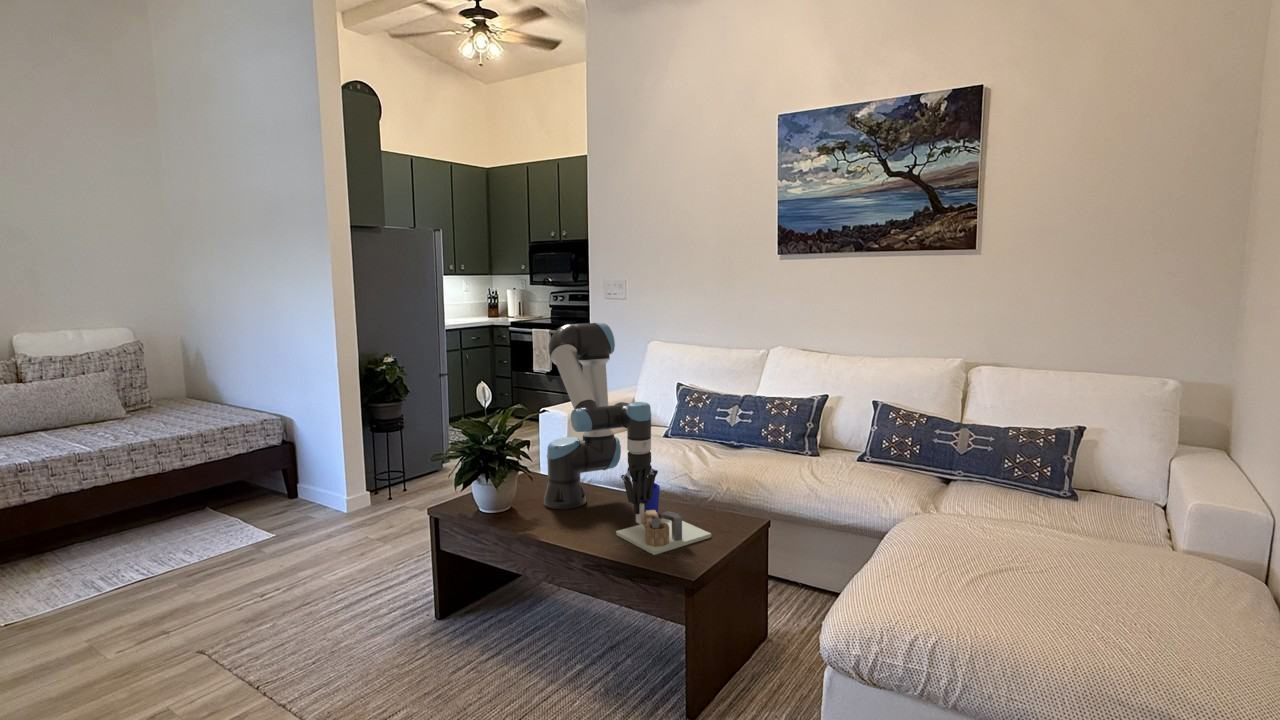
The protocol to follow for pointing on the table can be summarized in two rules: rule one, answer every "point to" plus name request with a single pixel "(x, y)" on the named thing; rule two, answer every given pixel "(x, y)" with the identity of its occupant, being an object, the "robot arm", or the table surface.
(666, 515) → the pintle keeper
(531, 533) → the table surface
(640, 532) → the board
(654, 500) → the mug
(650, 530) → the link
